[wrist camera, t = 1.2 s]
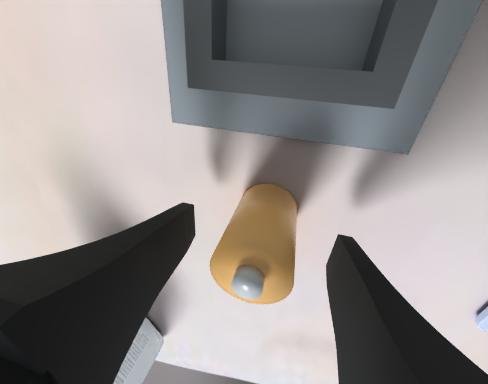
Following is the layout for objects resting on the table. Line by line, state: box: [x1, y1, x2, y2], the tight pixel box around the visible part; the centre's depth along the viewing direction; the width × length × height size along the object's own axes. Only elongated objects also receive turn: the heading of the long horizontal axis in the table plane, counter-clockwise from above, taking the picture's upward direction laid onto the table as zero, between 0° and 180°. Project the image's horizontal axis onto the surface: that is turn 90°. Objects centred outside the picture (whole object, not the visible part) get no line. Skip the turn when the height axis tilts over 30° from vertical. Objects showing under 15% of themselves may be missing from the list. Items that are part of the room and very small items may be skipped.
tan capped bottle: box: [210, 183, 297, 304], centre depth 10 cm, size 3×3×6 cm
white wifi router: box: [113, 318, 164, 384], centre depth 18 cm, size 10×4×12 cm, turn 25°
